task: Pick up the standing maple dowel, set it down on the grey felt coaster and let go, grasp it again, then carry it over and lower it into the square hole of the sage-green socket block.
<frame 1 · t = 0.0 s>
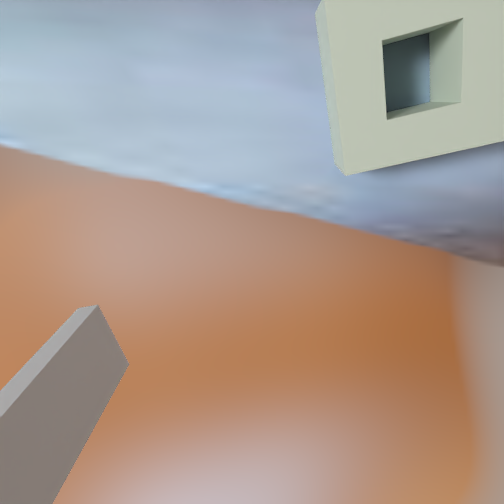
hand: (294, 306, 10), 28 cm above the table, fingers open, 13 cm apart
socket block: (397, 76, 31), on the table
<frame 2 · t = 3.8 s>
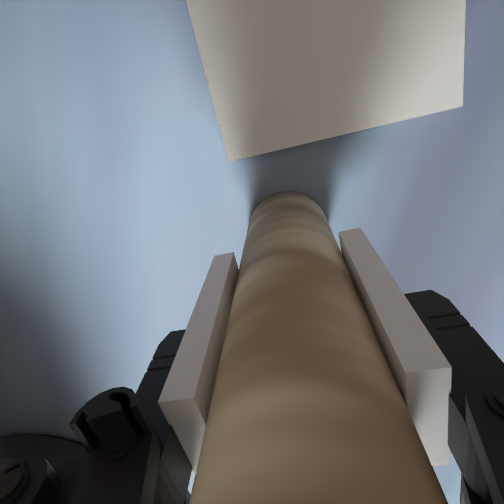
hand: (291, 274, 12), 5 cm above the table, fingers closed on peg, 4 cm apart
peg: (287, 230, 16), on the table, touching gripper
when the fingers open (6 cm above the table, at t = 7.7 s): peg stays where it is, resting on coaster.
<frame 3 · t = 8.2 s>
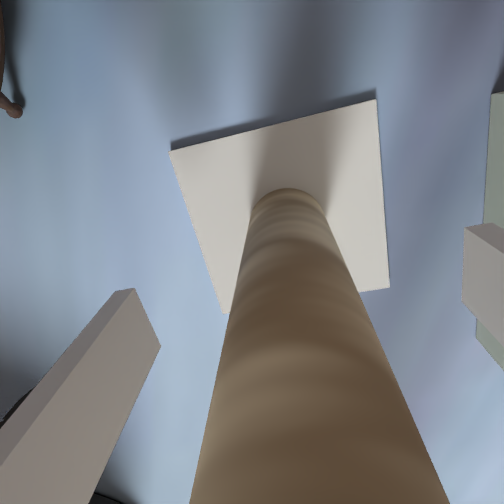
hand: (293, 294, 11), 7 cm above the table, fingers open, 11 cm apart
peg: (286, 225, 17), resting on coaster
coaster: (286, 221, 17), on the table
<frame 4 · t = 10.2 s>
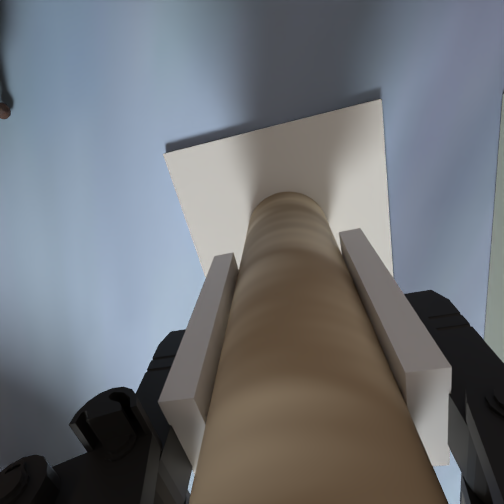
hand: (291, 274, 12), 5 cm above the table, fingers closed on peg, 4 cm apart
peg: (287, 230, 16), resting on coaster, touching gripper
coaster: (287, 227, 17), on the table
when the fingers open (7 cm above the table, at t = 14.9 s): peg drops 2 cm, resting in socket block.
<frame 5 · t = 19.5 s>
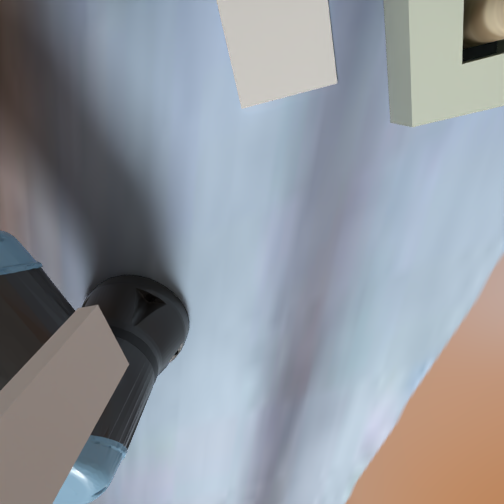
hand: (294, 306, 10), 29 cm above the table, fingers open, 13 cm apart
peg: (463, 25, 30), resting in socket block
coaster: (278, 41, 31), on the table
socket block: (463, 25, 30), on the table
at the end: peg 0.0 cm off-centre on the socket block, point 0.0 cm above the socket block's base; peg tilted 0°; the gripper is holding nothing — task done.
